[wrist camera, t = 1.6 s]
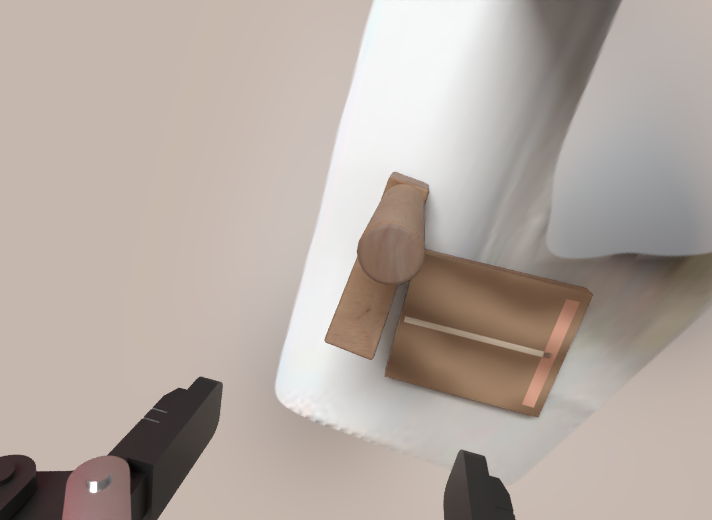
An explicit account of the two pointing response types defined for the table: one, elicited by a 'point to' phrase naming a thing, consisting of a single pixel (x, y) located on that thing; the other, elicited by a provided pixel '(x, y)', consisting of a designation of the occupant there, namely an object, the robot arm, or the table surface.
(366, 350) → the tan cylinder-on-bar part
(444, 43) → the table surface
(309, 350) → the table surface
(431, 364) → the board
